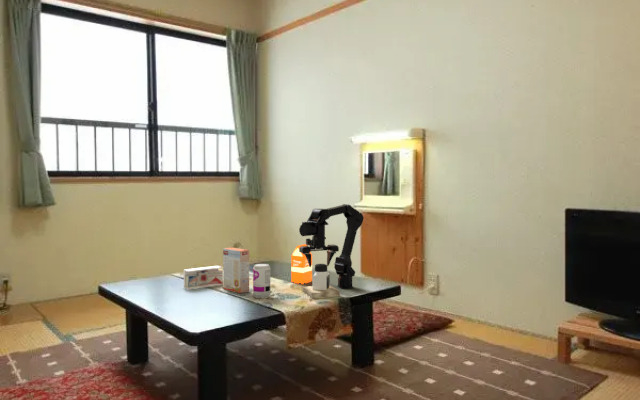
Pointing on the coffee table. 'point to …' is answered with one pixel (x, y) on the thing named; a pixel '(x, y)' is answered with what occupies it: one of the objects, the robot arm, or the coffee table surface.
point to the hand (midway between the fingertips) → (319, 266)
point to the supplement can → (261, 280)
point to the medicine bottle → (321, 278)
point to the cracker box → (236, 270)
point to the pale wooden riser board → (320, 292)
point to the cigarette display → (202, 277)
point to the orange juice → (300, 267)
